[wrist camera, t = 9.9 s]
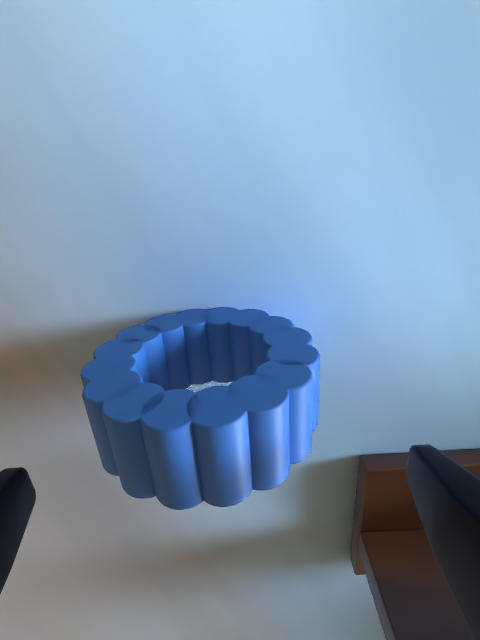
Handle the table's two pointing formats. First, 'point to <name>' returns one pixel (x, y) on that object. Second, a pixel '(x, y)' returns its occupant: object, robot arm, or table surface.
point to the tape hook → (403, 552)
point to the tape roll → (203, 405)
